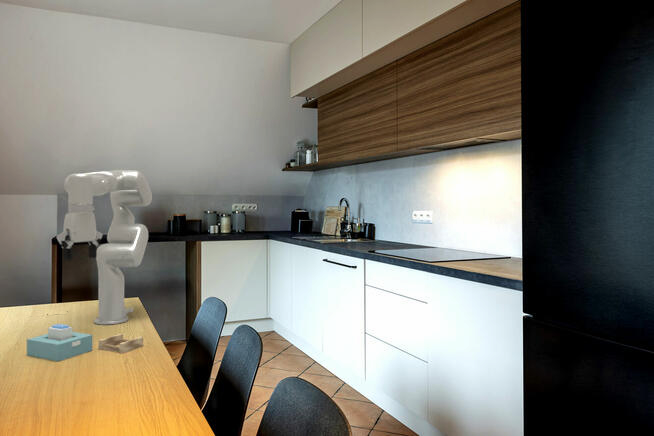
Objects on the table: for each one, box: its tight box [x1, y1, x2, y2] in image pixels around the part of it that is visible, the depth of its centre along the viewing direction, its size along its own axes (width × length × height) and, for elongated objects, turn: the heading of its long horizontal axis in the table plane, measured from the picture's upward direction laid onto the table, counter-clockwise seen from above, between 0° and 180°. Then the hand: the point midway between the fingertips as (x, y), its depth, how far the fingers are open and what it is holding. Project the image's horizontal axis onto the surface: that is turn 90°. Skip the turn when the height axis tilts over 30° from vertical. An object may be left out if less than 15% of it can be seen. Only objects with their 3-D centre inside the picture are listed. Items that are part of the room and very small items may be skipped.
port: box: [26, 331, 93, 362], centre depth 147 cm, size 12×14×5 cm
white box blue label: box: [47, 323, 74, 341], centre depth 147 cm, size 4×6×8 cm, turn 67°
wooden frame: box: [98, 333, 144, 354], centre depth 153 cm, size 9×10×3 cm
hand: (80, 258), depth 162 cm, fingers open, 9 cm apart
